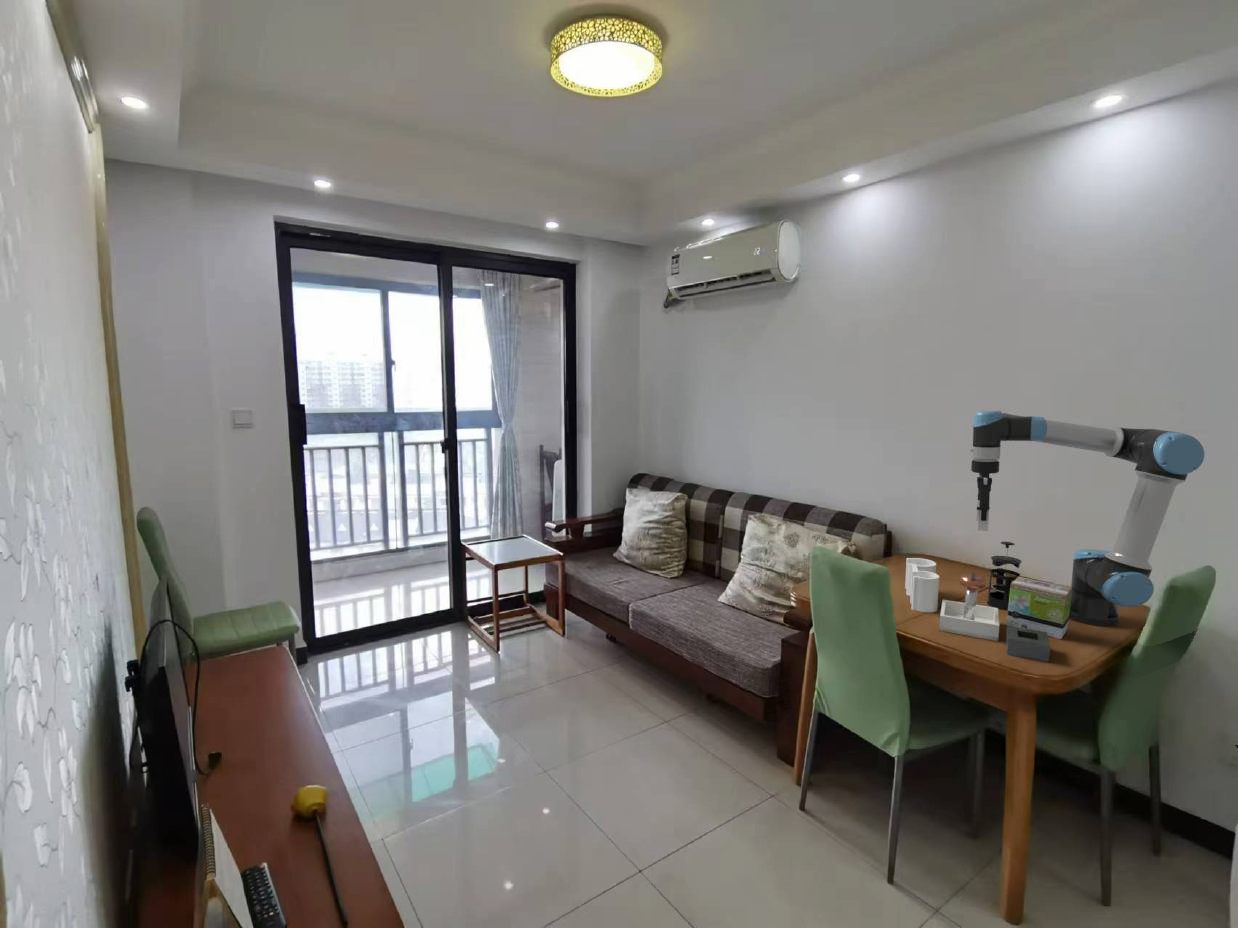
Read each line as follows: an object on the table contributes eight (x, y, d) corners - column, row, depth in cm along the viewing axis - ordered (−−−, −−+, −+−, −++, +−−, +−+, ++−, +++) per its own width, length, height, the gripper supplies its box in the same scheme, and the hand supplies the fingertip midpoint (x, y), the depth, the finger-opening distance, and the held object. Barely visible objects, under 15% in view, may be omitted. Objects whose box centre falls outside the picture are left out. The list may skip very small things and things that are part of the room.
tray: (996, 622, 197) (997, 608, 196) (998, 641, 184) (999, 625, 183) (941, 613, 205) (942, 599, 205) (939, 630, 192) (940, 615, 191)
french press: (1022, 612, 205) (1028, 547, 202) (991, 609, 208) (996, 545, 205) (1012, 600, 216) (1017, 538, 213) (982, 597, 219) (987, 536, 216)
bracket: (940, 614, 205) (943, 580, 203) (909, 610, 208) (911, 577, 207) (932, 590, 228) (934, 559, 226) (904, 587, 231) (906, 556, 230)
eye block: (1045, 648, 178) (1046, 632, 178) (1048, 662, 170) (1050, 645, 169) (1005, 641, 183) (1006, 625, 183) (1006, 654, 175) (1008, 638, 174)
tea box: (1005, 626, 194) (1009, 582, 192) (1013, 617, 201) (1017, 575, 199) (1062, 640, 184) (1066, 594, 182) (1068, 630, 191) (1073, 586, 189)
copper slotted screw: (956, 617, 199) (961, 570, 197) (981, 621, 196) (986, 574, 193) (955, 624, 193) (960, 577, 191) (981, 629, 190) (986, 581, 187)
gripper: (971, 454, 201) (968, 516, 204) (972, 464, 180) (969, 533, 183) (997, 455, 197) (993, 518, 200) (1002, 465, 176) (998, 535, 179)
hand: (982, 525), depth 191 cm, fingers open, 13 cm apart
